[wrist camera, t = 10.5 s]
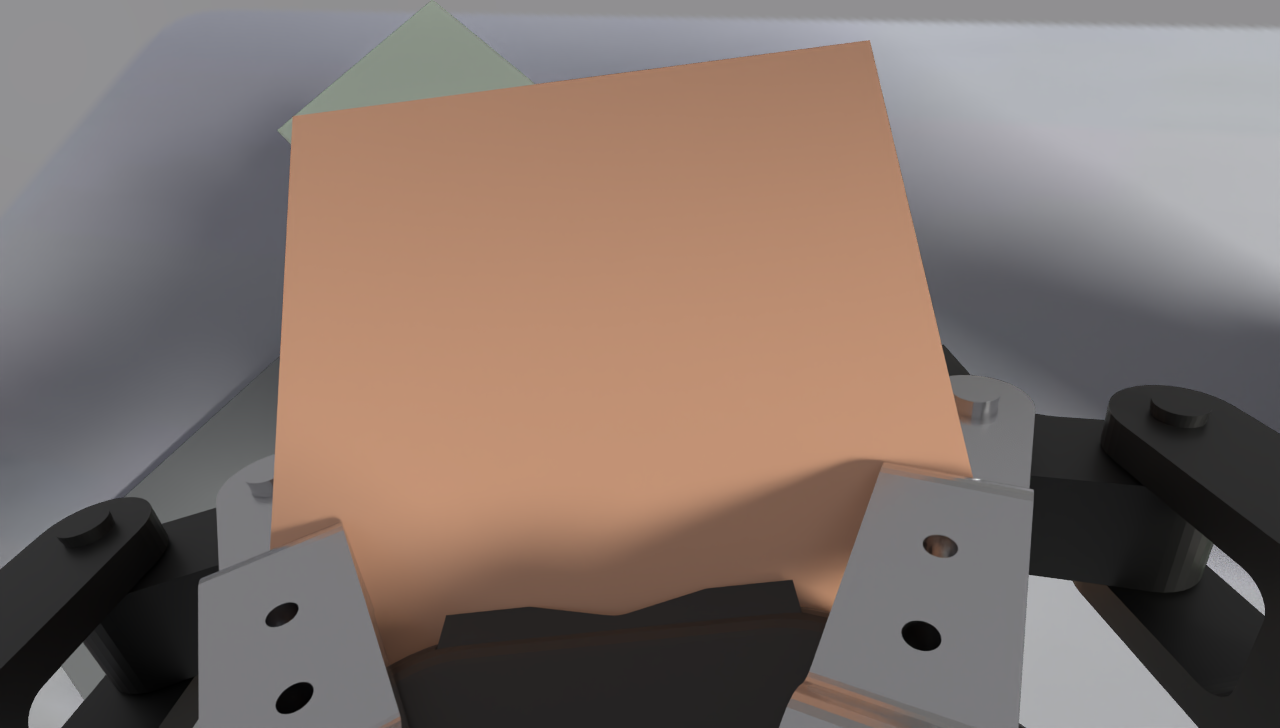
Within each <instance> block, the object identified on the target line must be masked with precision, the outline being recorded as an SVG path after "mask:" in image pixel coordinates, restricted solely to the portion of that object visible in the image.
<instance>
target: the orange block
mask: <svg viewBox="0 0 1280 728" xmlns="http://www.w3.org/2000/svg"><path fill="white" fill-rule="evenodd" d="M884 462H891V463H896V464H901V465H907V466H912V467H917V468H923V469H928V470H934V471H939V472H944V473H950V474H955V475H960V476H966V477H971V478H973V475H972V471H971V467H970V463H969V458H968V454H967V450H966V446H965V441H964V437H963V433H962V429H961V425H960V420H959V416H958V412H957V408H956V403H955V399H954V395H953V391H952V386H951V382H950V378H949V374H948V370H947V365H946V361H945V357H944V353H943V348H942V344H941V340H940V336H939V331H938V327H937V323H936V319H935V315H934V310H933V306H932V302H931V298H930V293H929V289H928V285H927V281H926V276H925V272H924V268H923V264H922V259H921V255H920V251H919V247H918V243H917V238H916V234H915V230H914V226H913V221H912V217H911V213H910V209H909V204H908V200H907V196H906V192H905V188H904V183H903V179H902V175H901V171H900V166H899V162H898V158H897V154H896V149H895V145H894V141H893V137H892V133H891V128H890V124H889V120H888V116H887V111H886V107H885V103H884V99H883V94H882V90H881V86H880V82H879V77H878V73H877V69H876V65H875V61H874V56H873V52H872V48H871V44H870V40H868V41H861V42H853V43H845V44H838V45H830V46H823V47H815V48H807V49H800V50H792V51H785V52H777V53H769V54H762V55H754V56H747V57H739V58H731V59H724V60H716V61H709V62H701V63H693V64H686V65H678V66H671V67H663V68H655V69H648V70H640V71H633V72H625V73H617V74H610V75H602V76H595V77H587V78H579V79H572V80H564V81H557V82H549V83H541V84H534V85H526V86H519V87H511V88H503V89H496V90H488V91H481V92H473V93H465V94H458V95H450V96H443V97H435V98H427V99H420V100H412V101H405V102H397V103H389V104H382V105H374V106H367V107H359V108H351V109H344V110H336V111H329V112H321V113H313V114H306V115H298V116H293V118H292V137H291V157H290V176H289V195H288V214H287V233H286V252H285V272H284V291H283V310H282V329H281V348H280V367H279V386H278V406H277V425H276V444H275V463H274V482H273V501H272V521H271V540H270V550H272V549H274V548H277V547H279V546H281V545H284V544H286V543H289V542H291V541H294V540H296V539H299V538H301V537H304V536H306V535H308V534H311V533H313V532H316V531H318V530H321V529H323V528H326V527H328V526H330V525H333V524H335V523H338V522H340V521H342V523H343V526H344V529H345V531H346V534H347V537H348V539H349V542H350V545H351V548H352V550H353V553H354V556H355V558H356V561H357V564H358V567H359V569H360V572H361V575H362V577H363V580H364V583H365V586H366V588H367V591H368V594H369V596H370V599H371V602H372V605H373V607H374V610H375V611H374V615H375V618H376V622H377V625H378V628H379V631H380V634H381V638H382V641H383V644H384V647H385V650H386V653H387V657H388V660H389V663H390V665H391V664H393V663H395V662H397V661H399V660H401V659H403V658H405V657H407V656H409V655H411V654H413V653H416V652H418V651H421V650H423V649H425V648H428V647H431V646H434V645H437V644H438V643H439V639H440V635H441V632H442V628H443V625H444V621H445V618H446V615H454V614H463V613H473V612H483V611H492V610H502V609H512V608H522V607H538V608H547V609H556V610H565V611H574V612H583V613H592V614H600V615H612V616H615V615H623V614H627V613H630V612H633V611H636V610H640V609H643V608H646V607H649V606H652V605H655V604H659V603H662V602H665V601H668V600H671V599H674V598H678V597H681V596H684V595H687V594H690V593H693V592H697V591H700V590H703V589H706V588H716V587H725V586H735V585H745V584H755V583H764V582H774V581H784V580H793V583H794V586H795V590H796V593H797V597H798V600H799V604H800V607H807V608H815V609H819V610H824V611H829V612H830V611H831V609H832V606H833V603H834V600H835V597H836V594H837V592H838V589H839V586H840V583H841V580H842V577H843V575H844V572H845V569H846V566H847V563H848V560H849V558H850V555H851V552H852V549H853V546H854V543H855V541H856V538H857V535H858V532H859V529H860V526H861V523H862V521H863V518H864V515H865V512H866V509H867V506H868V504H869V501H870V498H871V495H872V492H873V489H874V487H875V484H876V481H877V478H878V475H879V472H880V470H881V467H882V465H883V464H884Z"/></svg>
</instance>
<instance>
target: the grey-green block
mask: <svg viewBox="0 0 1280 728" xmlns="http://www.w3.org/2000/svg"><path fill="white" fill-rule="evenodd" d="M526 85H534V83H533V82H532V81H531V80H530V79H528V78H527V77H526V76H525V75H524V74H522V73H521V72H520V71H519V70H517V69H516V68H515V67H514V66H513V65H511V64H510V63H509V62H508V61H506V60H505V59H504V58H503V57H502V56H500V55H499V54H498V53H497V52H496V51H494V50H493V49H492V48H491V47H489V46H488V45H487V44H486V43H485V42H483V41H482V40H481V39H480V38H479V37H477V36H476V35H475V34H474V33H472V32H471V31H470V30H469V29H468V28H466V27H465V26H464V25H463V24H461V23H460V22H459V21H458V20H457V19H455V18H454V17H453V16H452V15H451V14H449V13H448V12H447V11H446V10H444V9H443V8H442V7H441V6H440V5H438V4H437V3H436V2H435V1H433V0H431V1H430V2H429V3H428V4H426V5H425V6H424V7H423V8H422V9H420V10H419V11H418V12H417V13H416V14H415V15H413V16H412V17H411V18H410V19H409V20H407V21H406V22H405V23H404V24H403V25H401V26H400V27H399V28H398V29H397V30H396V31H394V32H393V33H392V34H391V35H390V36H388V37H387V38H386V39H385V40H384V41H382V42H381V43H380V44H379V45H378V46H377V47H375V48H374V49H373V50H372V51H371V52H369V53H368V54H367V55H366V56H365V57H363V58H362V59H361V60H360V61H359V62H358V63H356V64H355V65H354V66H353V67H352V68H350V69H349V70H348V71H347V72H346V73H344V74H343V75H342V76H341V77H340V78H339V79H337V80H336V81H335V82H334V83H333V84H331V85H330V86H329V87H328V88H327V89H325V90H324V91H323V92H322V93H321V94H320V95H318V96H317V97H316V98H315V99H314V100H312V101H311V102H310V103H309V104H308V105H306V106H305V107H304V108H303V109H302V110H301V111H299V112H298V113H297V114H296V115H295V116H298V115H306V114H313V113H321V112H329V111H336V110H344V109H351V108H359V107H367V106H374V105H382V104H389V103H397V102H405V101H412V100H420V99H427V98H435V97H443V96H450V95H458V94H465V93H473V92H481V91H488V90H496V89H503V88H511V87H519V86H526ZM292 118H293V117H292ZM292 118H291V119H290V120H289V121H287V122H286V123H285V124H284V125H283V126H282V127H280V128H279V129H278V130H277V131H278V132H279V133H280V134H281V135H282V136H283V137H284V138H285V139H286V140H287V141H288V142H289V143H290V145H291V137H292Z"/></svg>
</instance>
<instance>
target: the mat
mask: <svg viewBox="0 0 1280 728" xmlns="http://www.w3.org/2000/svg"><path fill="white" fill-rule="evenodd" d="M279 367H280V356H279V357H278V358H277V359H276V360H275V361H274V362H273V363H272V364H271V365H269V366H268V367H267V368H266V369H265V370H264V371H263V372H262V373H261V374H260V375H258V376H257V377H256V378H255V379H254V380H253V381H252V382H251V383H250V384H248V385H247V386H246V387H245V388H244V389H243V390H242V391H241V392H240V393H239V394H237V395H236V396H235V397H234V398H233V399H232V400H231V401H230V402H229V403H227V404H226V405H225V406H224V407H223V408H222V409H221V410H220V411H219V412H218V413H216V414H215V415H214V416H213V417H212V418H211V419H210V420H209V421H208V422H206V423H205V424H204V425H203V426H202V427H201V428H200V429H199V430H198V431H197V432H195V433H194V434H193V435H192V436H191V437H190V438H189V439H188V440H187V441H186V442H184V443H183V444H182V445H181V446H180V447H179V448H178V449H177V450H176V451H174V452H173V453H172V454H171V455H170V456H169V457H168V458H167V459H166V460H165V461H163V462H162V463H161V464H160V465H159V466H158V467H157V468H156V469H155V470H154V471H152V472H151V473H150V474H149V475H148V476H147V477H146V478H145V479H144V480H142V481H141V482H140V483H139V484H138V485H137V486H136V487H135V488H134V489H133V490H131V491H130V492H129V493H128V494H127V495H126V496H125V497H138V498H142V499H145V500H147V501H148V502H149V503H150V505H151V506H152V508H153V510H154V511H155V513H156V515H157V517H158V518H159V520H160V522H161V524H163V523H166V522H169V521H173V520H176V519H179V518H183V517H186V516H189V515H193V514H196V513H199V512H203V511H206V510H210V509H213V508H216V497H217V494H218V492H219V490H220V489H221V487H222V486H223V485H224V483H225V482H226V481H227V480H228V479H229V478H231V477H232V476H233V475H234V474H236V473H237V472H238V471H240V470H241V469H243V468H245V467H246V466H248V465H250V464H252V463H254V462H256V461H258V460H260V459H263V458H265V457H268V456H271V455H274V454H275V444H276V425H277V406H278V386H279ZM62 668H63V669H64V671H65V672H66V674H67V675H68V677H69V678H70V680H71V681H72V683H73V684H74V686H75V687H76V688H77V690H78V691H79V693H80V694H81V696H82V697H83V699H84V700H85V699H86V698H87V697H88V695H89V694H90V693H91V692H92V691H93V690H94V688H95V687H96V686H97V685H98V684H99V682H100V681H101V680H102V679H103V678H104V676H105V675H106V674H105V673H104V671H103V670H102V669H101V667H100V666H99V664H98V663H97V662H96V660H95V659H94V657H93V656H92V655H91V653H90V652H89V651H88V649H87V648H86V646H85V645H84V644H83V643H82V644H81V645H80V646H79V647H78V648H77V649H76V650H75V651H74V653H73V654H72V655H71V656H70V657H69V658H68V659H67V660H66V661H65V662H64V664H63V665H62ZM193 728H199V719H198V721H197V722H196V724H195V725H194V727H193Z"/></svg>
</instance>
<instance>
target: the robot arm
mask: <svg viewBox="0 0 1280 728" xmlns="http://www.w3.org/2000/svg"><path fill="white" fill-rule="evenodd" d="M942 348H943V353H944V357H945V361H946V365H947V370H948V374H949V378H950V382H951V386H952V391H953V395H954V399H955V403H956V408H957V412H958V416H959V420H960V425H961V429H962V433H963V437H964V441H965V446H966V450H967V454H968V458H969V463H970V467H971V471H972V475H973V478H971V477H966V476H960V475H955V474H950V473H944V472H939V471H934V470H928V469H923V468H917V467H912V466H907V465H901V464H896V463H891V462H884V464H883V465H882V467H881V470H880V472H879V475H878V478H877V481H876V484H875V487H874V489H873V492H872V495H871V498H870V501H869V504H868V506H867V509H866V512H865V515H864V518H863V521H862V523H861V526H860V529H859V532H858V535H857V538H856V541H855V543H854V546H853V549H852V552H851V555H850V558H849V560H848V563H847V566H846V569H845V572H844V575H843V577H842V580H841V583H840V586H839V589H838V592H837V594H836V597H835V600H834V603H833V606H832V609H831V611H830V612H829V611H824V610H819V609H815V608H807V607H800V604H799V600H798V597H797V593H796V590H795V586H794V583H793V580H784V581H774V582H764V583H755V584H745V585H735V586H725V587H716V588H706V589H703V590H700V591H697V592H693V593H690V594H687V595H684V596H681V597H678V598H674V599H671V600H668V601H665V602H662V603H659V604H655V605H652V606H649V607H646V608H643V609H640V610H636V611H633V612H630V613H627V614H623V615H615V616H612V615H600V614H592V613H583V612H574V611H565V610H556V609H547V608H538V607H522V608H512V609H502V610H492V611H483V612H473V613H463V614H454V615H446V618H445V621H444V625H443V628H442V632H441V635H440V639H439V643H438V644H437V645H434V646H431V647H428V648H425V649H423V650H421V651H418V652H416V653H413V654H411V655H409V656H407V657H405V658H403V659H401V660H399V661H397V662H395V663H393V664H391V665H390V663H389V660H388V657H387V653H386V650H385V647H384V644H383V641H382V638H381V634H380V631H379V628H378V625H377V622H376V618H375V615H374V611H375V610H374V607H373V605H372V602H371V599H370V596H369V594H368V591H367V588H366V586H365V583H364V580H363V577H362V575H361V572H360V569H359V567H358V564H357V561H356V558H355V556H354V553H353V550H352V548H351V545H350V542H349V539H348V537H347V534H346V531H345V529H344V526H343V523H342V521H340V522H338V523H335V524H333V525H330V526H328V527H326V528H323V529H321V530H318V531H316V532H313V533H311V534H308V535H306V536H304V537H301V538H299V539H296V540H294V541H291V542H289V543H286V544H284V545H281V546H279V547H277V548H274V549H272V550H270V540H271V521H272V501H273V482H274V463H275V454H274V455H271V456H268V457H265V458H263V459H260V460H258V461H256V462H254V463H252V464H250V465H248V466H246V467H245V468H243V469H241V470H240V471H238V472H237V473H236V474H234V475H233V476H232V477H231V478H229V479H228V480H227V481H226V482H225V483H224V485H223V486H222V487H221V489H220V490H219V492H218V494H217V497H216V508H213V509H210V510H206V511H203V512H199V513H196V514H193V515H189V516H186V517H183V518H179V519H176V520H173V521H169V522H166V523H163V524H161V522H160V520H159V518H158V517H157V515H156V513H155V511H154V510H153V508H152V506H151V505H150V503H149V502H148V501H147V500H145V499H142V498H138V497H124V498H117V499H112V500H108V501H105V502H101V503H98V504H95V505H92V506H90V507H87V508H85V509H83V510H80V511H78V512H76V513H74V514H72V515H70V516H68V517H66V518H65V519H63V520H61V521H59V522H58V523H56V524H55V525H53V526H52V527H50V528H49V529H48V530H46V531H45V532H44V533H42V534H41V535H40V536H39V537H38V538H36V539H35V540H34V541H33V542H32V543H31V544H29V545H28V546H27V547H26V548H25V549H24V550H22V551H21V552H20V553H19V554H18V555H17V556H15V557H14V558H13V559H12V560H11V561H10V562H8V563H7V564H6V565H5V566H4V567H3V568H1V569H0V728H29V727H28V716H29V711H30V708H31V705H32V703H33V700H34V698H35V696H36V695H37V693H38V692H39V690H40V689H41V688H42V687H43V685H44V684H45V683H46V682H47V681H48V680H49V679H50V678H51V677H52V676H53V674H54V673H55V672H56V671H57V670H58V669H59V668H60V667H61V666H62V665H63V664H64V662H65V661H66V660H67V659H68V658H69V657H70V656H71V655H72V654H73V653H74V651H75V650H76V649H77V648H78V647H79V646H80V645H81V644H82V643H83V644H84V645H85V646H86V648H87V649H88V651H89V652H90V653H91V655H92V656H93V657H94V659H95V660H96V662H97V663H98V664H99V666H100V667H101V669H102V670H103V671H104V673H105V674H106V675H105V676H104V678H103V679H102V680H101V681H100V682H99V684H98V685H97V686H96V687H95V688H94V690H93V691H92V692H91V693H90V694H89V695H88V697H87V698H86V699H85V700H84V701H83V703H82V704H81V705H80V706H79V707H78V709H77V710H76V711H75V712H74V713H73V715H72V716H71V717H70V718H69V719H68V721H67V722H66V723H65V724H64V725H63V727H62V728H193V727H194V725H195V724H196V722H197V721H198V719H199V728H1025V727H1024V726H1023V725H1021V724H1020V723H1019V712H1020V697H1021V682H1022V667H1023V652H1024V637H1025V622H1026V607H1027V592H1028V577H1029V575H1035V576H1042V577H1050V578H1057V579H1064V580H1071V581H1073V582H1074V584H1075V586H1076V588H1077V589H1078V590H1079V592H1080V593H1081V594H1082V595H1083V596H1084V597H1085V599H1086V600H1087V601H1088V602H1089V603H1090V604H1091V605H1092V607H1093V608H1094V609H1095V610H1096V611H1097V612H1098V613H1099V615H1100V616H1101V617H1102V618H1103V619H1104V620H1105V621H1106V623H1107V624H1108V625H1109V626H1110V627H1111V628H1112V629H1113V630H1114V632H1115V633H1116V634H1117V635H1118V636H1119V637H1120V638H1121V640H1122V641H1123V642H1124V643H1125V644H1126V645H1127V646H1128V648H1129V649H1130V650H1131V651H1132V652H1133V653H1134V654H1135V656H1136V657H1137V658H1138V659H1139V660H1140V661H1141V662H1142V664H1143V665H1144V666H1145V667H1146V668H1147V669H1148V670H1149V672H1150V673H1151V674H1152V675H1153V676H1154V677H1155V678H1156V680H1157V681H1158V682H1159V683H1160V684H1161V685H1162V686H1163V688H1164V689H1165V690H1166V691H1167V692H1168V693H1169V694H1170V696H1171V697H1172V698H1173V699H1174V700H1175V701H1176V702H1177V704H1178V705H1179V706H1180V707H1181V708H1182V709H1183V710H1184V712H1185V713H1186V714H1187V715H1188V716H1189V717H1190V718H1191V719H1192V721H1193V722H1194V723H1195V724H1196V725H1197V726H1198V727H1199V728H1280V434H1279V433H1277V432H1276V431H1274V430H1272V429H1271V428H1269V427H1267V426H1266V425H1264V424H1263V423H1261V422H1259V421H1258V420H1256V419H1254V418H1253V417H1251V416H1249V415H1248V414H1246V413H1244V412H1243V411H1241V410H1239V409H1238V408H1236V407H1234V406H1233V405H1231V404H1229V403H1227V402H1225V401H1223V400H1221V399H1218V398H1216V397H1214V396H1211V395H1208V394H1205V393H1202V392H1198V391H1194V390H1190V389H1185V388H1180V387H1172V386H1161V385H1144V386H1135V387H1131V388H1127V389H1124V390H1121V391H1119V392H1117V393H1116V394H1114V395H1113V396H1112V397H1111V399H1110V401H1109V404H1108V408H1107V413H1106V417H1105V420H1095V419H1081V418H1067V417H1054V416H1045V415H1040V414H1035V405H1034V403H1033V401H1032V399H1031V398H1030V397H1029V396H1028V395H1027V394H1026V393H1025V392H1024V391H1022V390H1021V389H1019V388H1017V387H1016V386H1013V385H1011V384H1009V383H1006V382H1004V381H1001V380H997V379H993V378H989V377H983V376H974V375H970V374H969V373H968V371H967V370H966V369H965V368H964V367H963V366H962V365H961V364H960V363H959V361H958V360H957V359H956V358H955V357H954V356H953V355H952V354H951V353H950V351H949V350H948V349H947V348H946V347H945V346H944V345H942ZM1213 544H1215V545H1216V546H1217V547H1218V548H1219V549H1221V550H1222V551H1223V552H1224V553H1225V554H1227V555H1228V556H1229V557H1230V558H1231V559H1233V560H1234V561H1235V562H1236V563H1237V564H1239V565H1240V566H1241V567H1242V568H1243V569H1244V570H1245V571H1246V572H1247V573H1248V574H1249V575H1250V576H1251V577H1252V579H1253V580H1254V582H1255V583H1256V585H1257V586H1258V588H1259V590H1260V592H1261V595H1262V597H1263V601H1264V605H1265V616H1264V615H1263V614H1262V613H1261V612H1259V611H1258V610H1257V609H1256V608H1255V607H1254V606H1253V605H1251V604H1250V603H1249V602H1248V601H1247V600H1246V599H1245V598H1243V597H1242V596H1241V595H1240V594H1239V593H1238V592H1237V591H1235V590H1234V589H1233V588H1232V587H1231V586H1230V585H1229V584H1228V583H1226V582H1225V581H1224V580H1223V579H1222V578H1221V577H1220V576H1218V575H1217V574H1216V573H1215V572H1214V571H1213V570H1212V569H1210V568H1209V567H1208V566H1207V565H1206V564H1207V561H1208V558H1209V555H1210V552H1211V550H1212V547H1213Z"/></svg>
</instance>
